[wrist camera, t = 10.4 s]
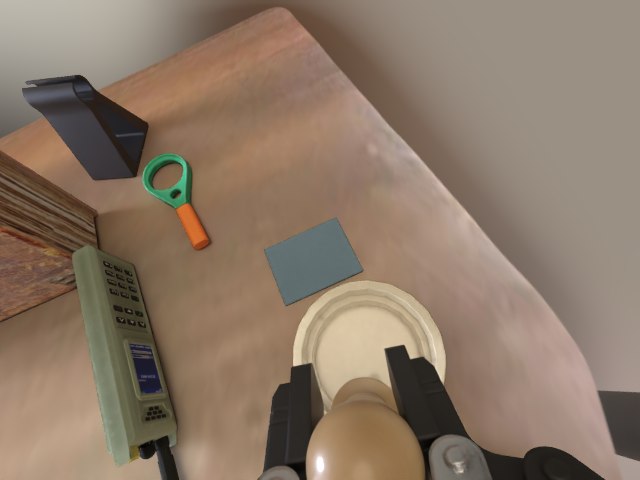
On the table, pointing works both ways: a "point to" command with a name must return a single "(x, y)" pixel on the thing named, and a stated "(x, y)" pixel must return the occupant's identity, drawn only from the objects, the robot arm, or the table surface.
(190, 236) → the magnifying glass
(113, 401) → the handheld radio
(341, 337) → the bowl
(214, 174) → the table surface
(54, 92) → the phone stand
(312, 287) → the rest mat
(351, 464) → the wooden pestle
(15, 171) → the book
